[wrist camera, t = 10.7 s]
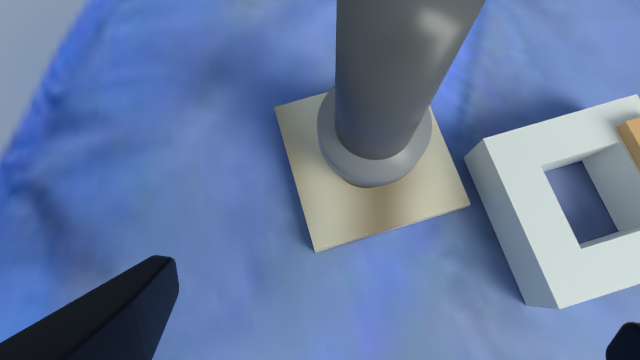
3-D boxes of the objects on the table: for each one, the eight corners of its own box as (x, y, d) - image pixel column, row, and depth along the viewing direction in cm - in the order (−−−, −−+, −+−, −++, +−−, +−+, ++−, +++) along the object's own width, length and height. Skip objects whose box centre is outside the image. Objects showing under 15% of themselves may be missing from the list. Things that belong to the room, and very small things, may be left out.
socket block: (526, 305, 20) (568, 310, 16) (463, 157, 22) (488, 133, 19) (675, 258, 20) (748, 252, 17) (597, 118, 23) (647, 87, 19)
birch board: (315, 252, 21) (315, 251, 20) (276, 114, 23) (273, 107, 22) (464, 208, 21) (471, 204, 20) (410, 76, 24) (414, 68, 23)
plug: (358, 220, 20) (400, 115, 8) (302, 150, 22) (262, -37, 9) (429, 165, 21) (570, -10, 9) (371, 101, 22) (421, -134, 10)
